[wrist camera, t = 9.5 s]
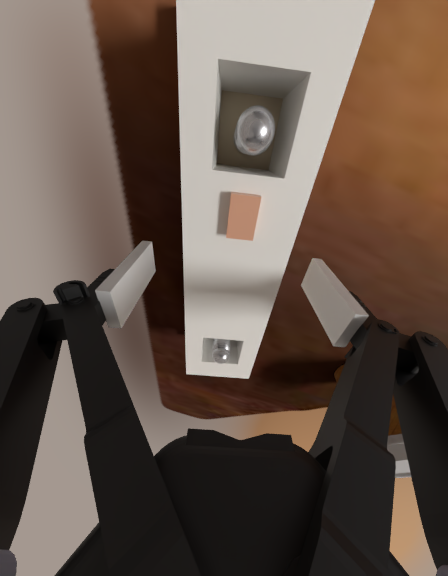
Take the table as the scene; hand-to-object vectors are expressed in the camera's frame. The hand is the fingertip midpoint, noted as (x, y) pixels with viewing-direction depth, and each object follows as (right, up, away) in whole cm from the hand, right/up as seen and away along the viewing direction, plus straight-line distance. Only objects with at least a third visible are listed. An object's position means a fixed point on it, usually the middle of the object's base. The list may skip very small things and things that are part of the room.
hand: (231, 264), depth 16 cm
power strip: (0, +2, +2) cm, 2 cm away
